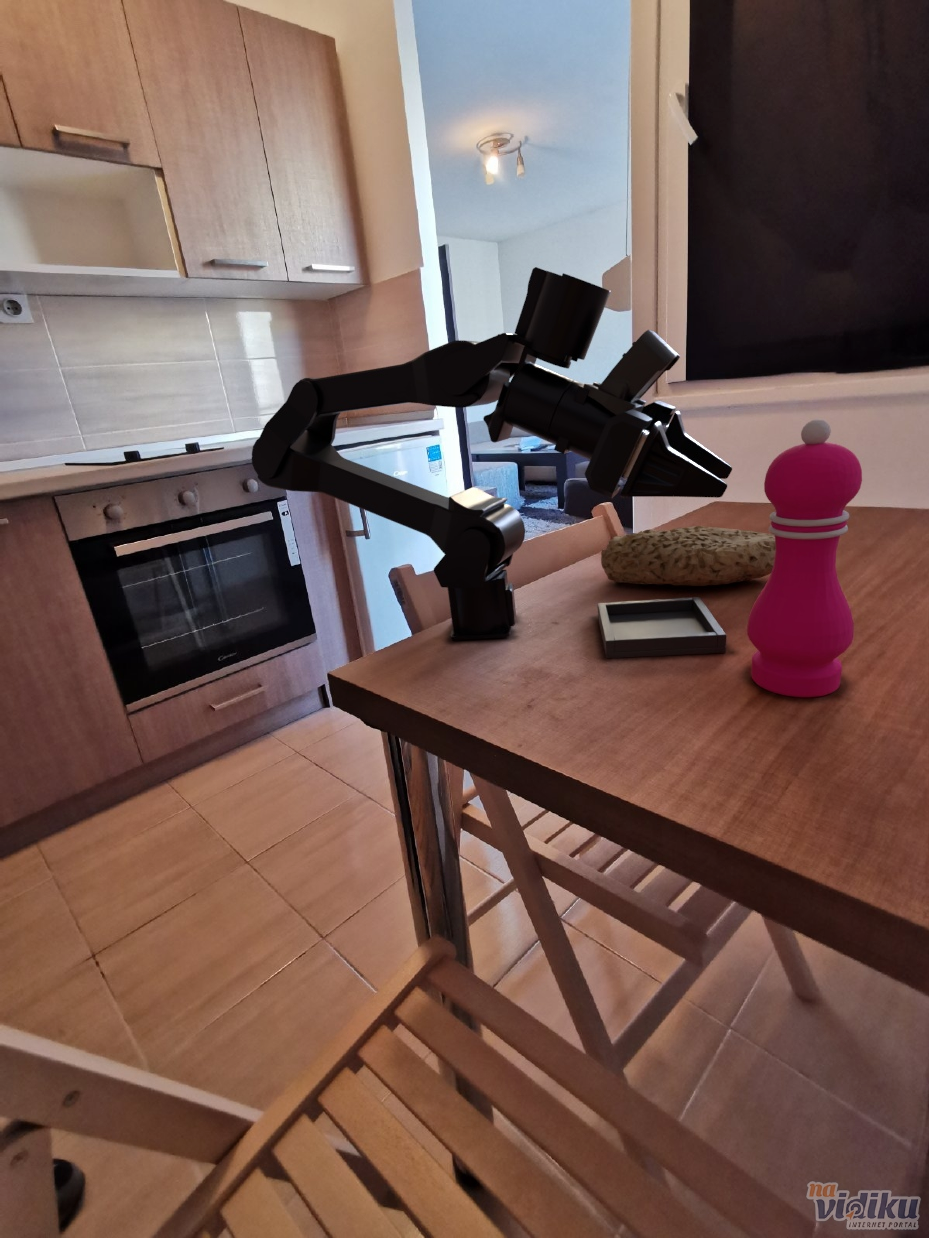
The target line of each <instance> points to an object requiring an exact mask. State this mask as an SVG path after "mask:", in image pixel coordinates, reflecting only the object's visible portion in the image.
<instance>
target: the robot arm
mask: <svg viewBox="0 0 929 1238" xmlns="http://www.w3.org/2000/svg"><path fill="white" fill-rule="evenodd" d="M610 294H611V290H609V289H607V288H604V287H602V286H599V285H596V284H594V283H591V282H589V281H586V280H583V279H581V278H578V277H575V276H573V275H570V274H566V273H564V272H562V275H561V274H558V273H555V272H552V271H549V270H545V269H542V268H540V267H537V266H536V267H533V268H532V269H531V273H530V275H529V279H528V283H527V290H526V294H525V298H524V302H523V305H522V308H521V311H520V314H519V318H518V320H517V324H516V326H515V329H514V333H510V332H509V333H507V332H502V333H498V334H496V335H494V336H492V337H490V338H487V339H485V340H482V341H476V340H462V339H460V340H459V339H456V340H452V341H449V342H447V343H444V344H442V345H439V346H437V347H434V348H432V349H430V350H428V351H425V352H423V353H422V354H420V355H418V356H417V357H415V358H413V359H411V360H409V361H407V362H404V363H401V364H395V365H394V364H393V365H389V366H383V367H377V368H372V369H371V368H370V369H366V370H360V371H353V372H347V373H342V374H336V375H330V376H324V377H303V378H301V379H300V380H299V381H298V382H296V383H295V384H294V385H293V386H292V388H291V390H290V393H289V395H288V397H287V399H286V401H285V402H284V403H283V404H282V405H281V406H280V407H279V409H278V410H277V411H276V412H275V413H274V414H273V415H272V417H270V419H269V420H268V421H267V422H266V424H265V425H264V427H263V429H262V431H261V434H260V435H259V438H257V439H256V440H255V442H254V444H253V445H252V448H251V449H252V450H251V465H252V467H253V470H254V471H255V473H256V476H257V479H258V480H259V481H260V482H261V483H262V484H263V485H265V486H267V487H270V488H274V489H279V490H284V491H288V492H289V491H290V492H301V493H302V492H303V493H305V492H306V493H321V494H323V495H326V496H329V497H332V498H334V499H337V500H339V501H341V502H344V503H347V504H349V505H351V506H354V507H355V508H356V507H357V508H359V509H362V510H364V511H366V512H369V513H371V514H374V515H376V516H378V517H382V518H384V519H386V520H389V521H391V522H393V523H395V524H399V525H401V526H403V527H406V528H408V529H410V530H413V531H416V532H419V533H421V534H424V535H425V536H427V537H428V538H430V539H431V540H432V541H433V543H435V545H436V546H437V548H439V550H440V551H441V552H442V553H443V554H444V555H443V556H442V558H441V559H440V560H439V561H438V562H437V563H436V565H435V566H434V567H433V573H434V575H435V577H436V579H437V581H438V583H439V586H440V587H441V588H444V589H445V588H446V589H447V595H448V602H449V610H450V618H451V625H452V629H451V631H450V634H449V637H450V640H451V641H464V640H482V639H483V640H485V639H502V638H509V637H510V636H511V632H512V627H514V626H515V625H516V621H517V609H516V597H515V589H514V587H515V586H514V584H513V582H509V581H508V570H507V569H506V568H508V567H509V566H510V565H511V563H512V561H513V556H514V554H515V553H516V552H517V551H518V550H519V549H520V548H521V547H522V546H523V543H524V541H525V536H526V526H525V522H524V521H523V519H522V517H521V513H520V512H519V511H518V510H517V509H516V508H515V507H513V506H512V505H510V504H507V503H506V502H507V501H508V497H507V496H506V497H503V496H502V497H498V496H493V495H491V494H489V493H487V492H486V491H484V490H482V489H480V488H477V487H475V486H472V487H470V488H468V489H465V490H463V491H460V492H458V493H455V494H452V495H450V496H445V495H443V494H440V493H437V492H434V491H431V490H429V489H426V488H424V487H421V486H418V485H416V484H413V483H410V482H408V481H405V480H402V479H400V478H397V477H394V476H392V475H390V474H387V473H384V472H382V471H378V470H376V469H374V468H371V467H368V466H366V465H364V464H360V463H357V462H355V461H352V460H349V459H347V458H345V457H343V456H342V455H341V454H340V453H339V452H338V451H337V450H336V448H335V447H334V446H333V445H332V444H333V443H334V441H335V438H336V431H337V423H338V422H337V421H338V418H339V417H340V415H341V413H344V412H345V413H346V412H352V411H360V410H366V409H367V410H368V409H375V408H382V407H389V406H397V405H404V404H420V405H426V406H432V407H434V406H435V407H447V408H459V409H461V408H470V407H471V408H472V407H477V406H484V405H489V404H492V403H496V405H495V408H494V410H493V411H492V412H491V413H489V414H486V415H484V416H483V417H482V419H483V422H484V423H485V424H486V426H487V432H488V434H489V439H490V441H491V442H492V443H499V442H501V441H505V440H509V439H510V437H511V435H512V432H513V429H514V428H516V429H518V430H520V431H523V432H524V433H527V434H529V435H532V436H534V437H537V438H539V439H541V440H543V441H546V442H548V443H550V444H553V445H554V448H553V451H555V452H558V453H560V454H563V455H565V454H568V453H570V452H571V453H573V454H575V455H578V456H580V457H582V458H584V459H587V460H588V461H589V462H588V464H587V466H586V468H585V471H584V477H585V479H586V481H587V485H588V487H589V489H590V490H591V491H593V492H596V493H598V494H600V495H602V496H604V497H607V498H609V499H613V498H614V497H615V496H616V495H617V494H619V497H620V498H623V499H626V498H631V497H632V498H633V497H634V498H635V497H636V498H637V497H640V498H641V497H642V498H643V497H645V498H647V497H649V498H650V497H651V498H652V497H654V498H655V497H656V498H657V497H658V498H661V497H663V498H664V497H665V498H666V497H668V498H674V497H676V498H716V499H717V498H718V499H719V498H722V497H723V496H724V494H725V492H726V490H727V489H728V483H726V482H725V481H724V480H727V479H728V478H729V477H730V475H731V473H732V471H733V467H732V466H731V465H730V464H729V463H728V462H726V461H725V460H723V459H722V458H721V457H719V456H718V455H716V453H713V452H712V451H710V450H709V449H708V448H707V447H705V446H704V445H702V444H701V443H699V442H698V441H697V440H695V439H694V438H693V437H692V436H690V435H689V434H688V433H687V432H686V430H685V429H686V428H685V426H684V423H683V420H682V414H681V412H680V411H679V410H677V406H674V405H671V404H669V403H667V402H665V401H662V400H655V401H653V402H651V403H649V404H647V401H646V400H644V399H641V398H643V396H644V395H645V394H647V392H648V391H649V390H650V389H651V388H652V387H653V385H655V384H656V382H657V381H658V380H659V379H660V378H661V377H662V375H663V374H665V372H668V371H670V370H671V369H672V368H673V367H674V366H675V365H676V364H677V362H678V361H679V360H680V359H681V355H680V354H678V352H676V351H675V350H674V348H673V347H671V346H670V345H669V344H668V343H667V342H666V341H665V340H664V339H663V338H662V337H661V336H660V335H659V334H658V333H656V332H655V331H654V330H652V329H647V330H645V331H644V332H643V333H642V334H641V335H640V336H639V337H638V338H637V340H636V341H632V343H631V347H629V349H628V350H627V351H626V352H624V353H623V354H622V356H621V358H620V359H619V360H618V362H617V363H616V364H615V365H614V366H613V368H612V369H611V370H610V371H609V372H608V374H607V376H606V377H605V378H604V379H603V380H602V382H601V383H600V382H596V381H594V382H593V383H590V382H589V383H588V382H586V383H585V382H584V383H582V382H580V381H578V380H575V379H572V378H570V377H567V376H566V375H563V374H560V373H558V372H555V371H553V370H550V369H549V368H545V367H543V366H541V365H539V364H536V362H537V359H538V360H540V361H543V362H545V363H548V364H550V365H553V366H556V367H559V368H563V369H570V367H571V366H572V365H571V364H572V361H573V362H577V363H578V360H583V361H584V360H585V359H586V357H587V353H588V351H589V349H590V347H591V343H592V342H593V341H592V340H593V338H594V335H595V333H596V331H597V328H598V326H599V323H600V320H601V317H602V315H603V312H604V310H605V307H606V305H607V302H608V299H609V297H610ZM510 379H511V380H510ZM676 410H677V411H676ZM622 479H625V480H626V481H625V482H624V485H623V487H622V486H621V485H620V481H621V480H622ZM621 487H622V489H621ZM620 490H621V492H620ZM619 492H620V493H619Z"/></svg>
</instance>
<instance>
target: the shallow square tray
mask: <svg viewBox="0 0 929 1238" xmlns="http://www.w3.org/2000/svg"><path fill="white" fill-rule="evenodd" d="M597 619H598V624H599V630H600V634H601V640H602V643H603V649H604V654H605V658H606V659H619V658H620V659H621V658H641V657H662V656H663V657H665V656H684V655H687V656H688V655H706V654H709V655H710V654H726V652H727V636H728V635H727V634H726V632H725V631H724V630H723V628H722V626H721V625H720V624H719V622H718V621H717V620H716V618H715V617H714V616H713V614H712V613H711V611H710V610H709V609H708V607H707V605H706V604H705V603H704V602H703V600H702V598H701V597H699V596H692V597H675V598H658V599H644V600H627V601H611V602H598V603H597Z"/></svg>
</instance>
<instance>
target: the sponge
mask: <svg viewBox="0 0 929 1238" xmlns="http://www.w3.org/2000/svg"><path fill="white" fill-rule="evenodd" d="M775 551H776V545H775V535H774V534H772V533H768V532H759V531H753V530H744V529H736V528H735V529H733V528H726V527H715V526H701V525H697V526H696V525H695V526H687V527H676V528H672V529H670V530H665V529H663V530H662V529H661V530H655V529H645V530H639V531H638V532H632V533H630V534H626V533H625V534H624V535H622V536H613V538H612V539H610V540H609V541H608V544H607V545H606V549H604V548H603V549H602V550H601V552H600V556H601V557H600V563H601V564H600V565H601V567H602V569H603V570H604V573H605V575H606V577H607V579H608V580H610V581H611V582H615V583H622V584H623V583H625V584H633V585H634V584H635V585H636V584H638V585H658V586H660V585H661V586H662V585H671V586H691V587H705V586H719V585H720V586H721V585H728V584H733V583H740V582H746V581H750V580H753V579H759V578H763V577H766V576H769V575H771V572H772V569H773V566H774V559H775Z"/></svg>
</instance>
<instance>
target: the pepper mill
mask: <svg viewBox="0 0 929 1238" xmlns="http://www.w3.org/2000/svg"><path fill="white" fill-rule="evenodd" d="M831 433H832V430H831V426H830V424H829V423H828V422H827V421H826V420H824V419H812V420H810V421H808V422H807V423H805V425H804V426H803V427H802V429H801V431H800V438H801V441H802V442H803V443H801V444H798V445H795V446H792V447H790V448H787V449H786V450H783V452H781V453H780V454H778V455H777V456H776V457H775V458H774V459H773V460H772V461H771V463H770V465H769V466H768V468H767V470H766V473H765V476H764V483H763V491H764V494H765V497H766V498H767V500H768V501H769V502H770V504H772V506H773V508H774V510H775V511H773V512H771V513H770V515H769V520H770V521H771V522H770V525H769V527H768V532H769V534H771V535H774V536H775V545H776V551H775V559H774V566H773V569H772V572H771V573H770V574H769V575H770V576H769V578H768V579H767V581H766V583H765V584H764V586H763V588H762V590H761V591H760V593H759V594H758V597H757V598H756V600H755V602H754V603H753V605H752V607H751V610H750V612H749V616H748V621H747V628H746V633H747V637H748V639H749V641H750V643H751V644H752V646H754V647H755V649H756V650H757V651H755V652H754V653H753V655H752V657H751V667H750V668H751V670H750V676H751V679H752V680H753V682H755V684H756V685H758V686H759V687H761V688H763V689H764V690H766V691H769V692H771V693H774V694H778V695H782V696H786V697H794V698H817V697H823V696H826V695H829V694H832V693H834V692H835V691H837V690H838V689H839V688H840V685H841V679H842V670H843V666H842V665H843V664H842V662H841V660H840V659H839V658H838V657H839V656H841V655H843V653H845V652H846V651H847V650H848V648H849V647H851V645H852V644H853V640H854V632H855V631H854V629H855V628H854V619H853V615H852V610H851V608H850V605H849V603H848V601H847V597H846V596H845V594H844V592H843V589H842V587H841V584H840V581H839V578H838V573H837V566H836V565H837V563H836V562H837V550H838V545H839V541H840V537H841V536H842V535H844V534H846V533H847V532H848V531H849V527H848V525H847V523H848V521H847V520H849V519H850V514H849V512H848V511H846V510H845V508H846V507H847V506H848V504H849V503H850V502H851V501H852V500H854V498H855V497H856V496H857V494H858V493H859V492H860V489H861V488H862V487H861V486H862V482H863V471H862V470H863V469H862V466H861V463H860V462H861V461H860V460H859V458H858V457H857V455H856V454H855V453H854V452H853V451H851V450H850V449H849V448H847V447H845V446H843V445H840V444H837V443H833V442H826V441H828V439H829V438H830V436H831Z"/></svg>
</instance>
